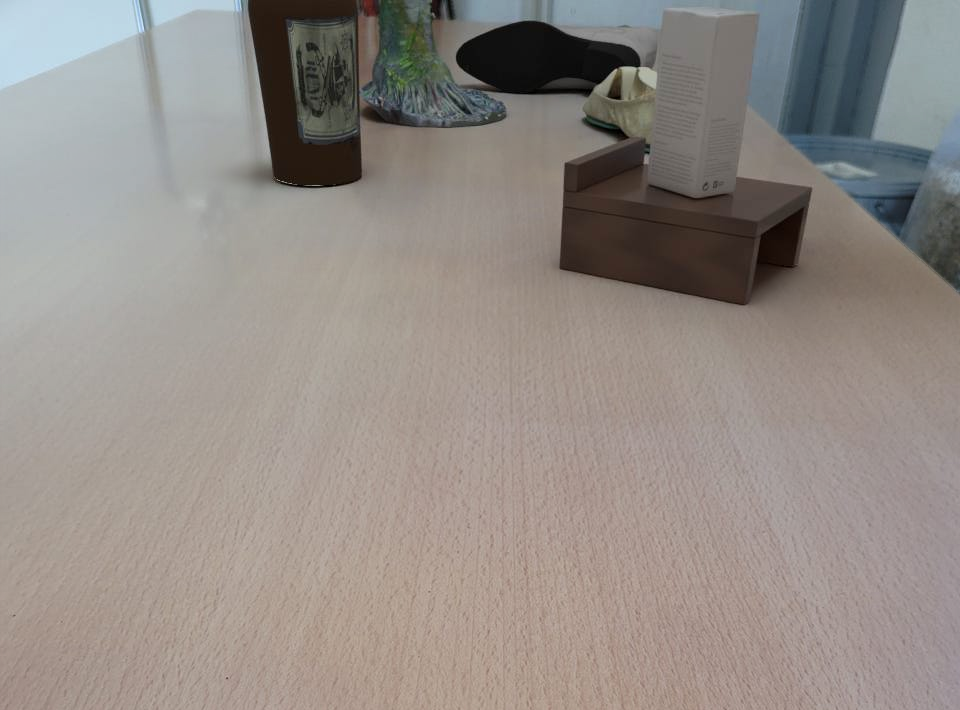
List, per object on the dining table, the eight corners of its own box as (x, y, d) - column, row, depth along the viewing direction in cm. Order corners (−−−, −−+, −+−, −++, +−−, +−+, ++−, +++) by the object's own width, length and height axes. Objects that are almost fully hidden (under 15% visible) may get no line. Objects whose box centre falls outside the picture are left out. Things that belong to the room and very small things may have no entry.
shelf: (798, 264, 83) (818, 159, 78) (744, 305, 75) (763, 191, 70) (625, 234, 90) (633, 136, 85) (559, 268, 82) (564, 162, 77)
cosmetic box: (736, 193, 78) (763, 12, 70) (694, 200, 76) (718, 15, 69) (684, 177, 82) (704, 4, 74) (643, 184, 80) (660, 7, 73)
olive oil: (252, 173, 108) (215, -117, 93) (339, 161, 113) (318, -117, 97) (294, 194, 101) (261, -117, 86) (386, 180, 106) (370, -117, 90)
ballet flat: (627, 114, 135) (632, 49, 131) (707, 153, 117) (717, 78, 112) (569, 117, 134) (573, 51, 129) (641, 156, 115) (648, 81, 110)
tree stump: (452, 138, 125) (415, -31, 116) (342, 159, 137) (301, 8, 128) (534, 108, 136) (506, -48, 127) (425, 130, 148) (393, -11, 139)
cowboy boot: (640, 36, 139) (672, 19, 158) (455, 10, 144) (507, -3, 163) (628, 112, 145) (661, 87, 163) (451, 83, 150) (502, 63, 169)
